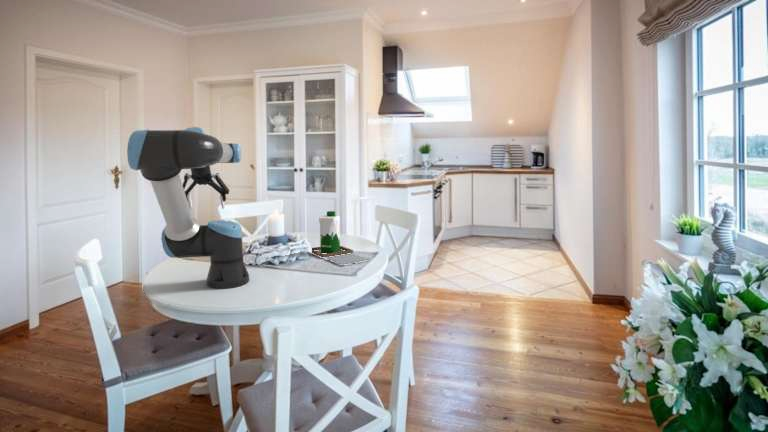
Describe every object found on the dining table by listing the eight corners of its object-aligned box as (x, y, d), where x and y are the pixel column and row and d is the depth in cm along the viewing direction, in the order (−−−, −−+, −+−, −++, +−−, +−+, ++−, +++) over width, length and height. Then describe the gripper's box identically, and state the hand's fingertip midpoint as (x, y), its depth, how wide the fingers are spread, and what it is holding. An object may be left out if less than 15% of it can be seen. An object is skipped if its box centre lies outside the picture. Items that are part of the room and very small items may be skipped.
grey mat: (368, 261, 197) (368, 259, 197) (342, 266, 188) (342, 264, 188) (351, 255, 208) (351, 253, 208) (325, 260, 199) (325, 257, 199)
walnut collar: (353, 254, 211) (353, 249, 210) (323, 259, 201) (323, 254, 201) (335, 248, 223) (335, 244, 223) (307, 252, 214) (307, 248, 213)
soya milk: (342, 251, 215) (341, 211, 212) (334, 256, 207) (333, 214, 204) (325, 250, 218) (324, 210, 215) (317, 254, 209) (316, 213, 206)
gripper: (232, 160, 188) (237, 202, 200) (170, 160, 184) (179, 203, 196) (229, 168, 182) (235, 211, 194) (165, 168, 178) (175, 212, 190)
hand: (207, 207), depth 195 cm, fingers open, 13 cm apart
